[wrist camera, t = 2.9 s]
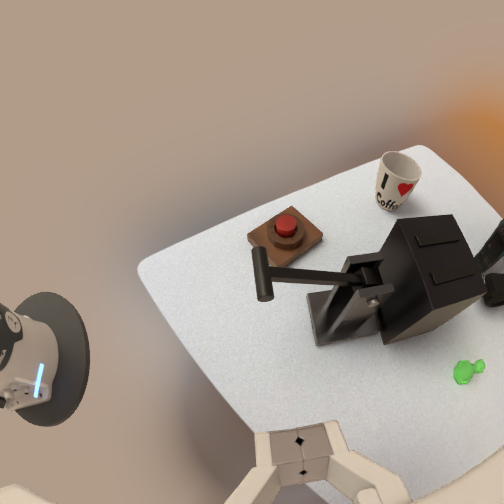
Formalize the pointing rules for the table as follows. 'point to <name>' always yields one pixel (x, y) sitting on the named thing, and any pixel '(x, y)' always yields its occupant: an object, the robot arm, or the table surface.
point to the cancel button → (286, 226)
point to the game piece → (467, 370)
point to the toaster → (426, 276)
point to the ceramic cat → (491, 249)
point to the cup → (395, 179)
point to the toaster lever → (305, 276)
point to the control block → (285, 239)
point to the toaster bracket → (348, 305)
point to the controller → (494, 289)
